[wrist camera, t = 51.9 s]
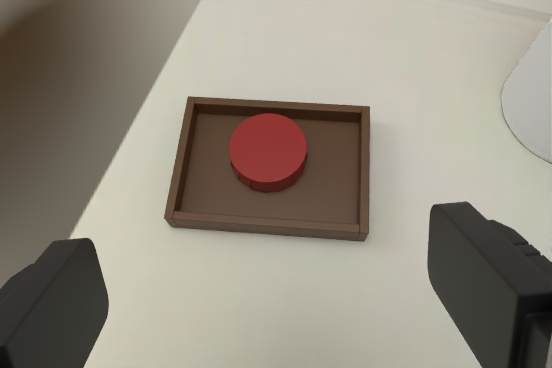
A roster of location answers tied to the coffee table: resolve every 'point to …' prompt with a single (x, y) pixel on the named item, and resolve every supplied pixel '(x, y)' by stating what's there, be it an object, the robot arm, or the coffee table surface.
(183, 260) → the coffee table surface
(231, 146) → the lid
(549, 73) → the tall pillar cylinder
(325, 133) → the tray
